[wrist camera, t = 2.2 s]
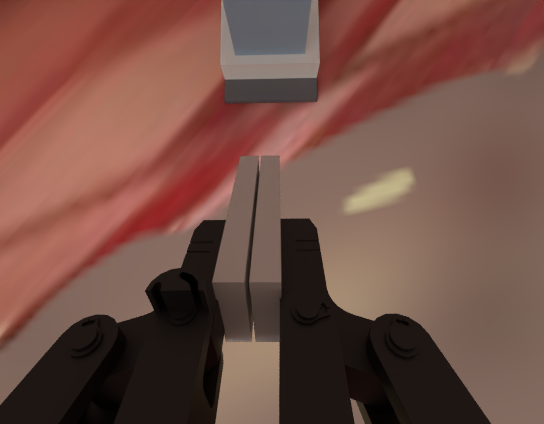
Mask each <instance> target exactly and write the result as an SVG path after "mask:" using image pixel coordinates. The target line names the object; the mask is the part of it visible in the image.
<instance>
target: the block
mask: <svg viewBox="0 0 544 424" xmlns="http://www.w3.org/2000/svg"><path fill="white" fill-rule="evenodd" d="M311 1H312V0H223V4H224V9H225V13H226V18H227V22H228V26H229V31H230V35H231V39H232V44H233V48H234V53H235V56H236V55H281V54H305V47H306V39H307V32H308V24H309V16H310V9H311Z"/></svg>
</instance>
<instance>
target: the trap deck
mask: <svg viewBox="0 0 544 424" xmlns="http://www.w3.org/2000/svg"><path fill="white" fill-rule="evenodd" d="M319 64H320V51H319V17H318V0H312V1H311V9H310V16H309V24H308V32H307V39H306V47H305V54H281V55H236V56H235V53H234V48H233V44H232V39H231V35H230V31H229V26H228V22H227V18H226V13H225V9H224V4H223V0H221V51H220V66H221V69H222V72H223V75H224V78H225V103H279V102H317V74H318V69H319Z"/></svg>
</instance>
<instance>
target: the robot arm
mask: <svg viewBox="0 0 544 424" xmlns="http://www.w3.org/2000/svg"><path fill="white" fill-rule="evenodd" d="M145 292H146V294H147V296H148V298H149V300H150V302H151V304H152V306H153V309H154V311H153V312H151V313H148V314H146V315H143V316H140V317H137V318H133V319H130V320H126V321H123V322H119V323H117V322H116V321H115V319H113V318H112V317H110V316H108V315H93V316H90V317H87V318H84V319H82V320H80V321H79V322H77V323H75V324H73V325H72V326H71V327H70V328H69V329H68V330H66V331H65V332H64V333H63V334H62V335H61V337H59V339H58V340H57V341H56V342H55V343H54V344H53V345H52V347H51V348H50V349H49V350H48V351H47V352H46V353H45V355H44V356H43V357H42V358H41V359H40V360H39V361H38V363H37V364H36V365H35V366H34V367H33V368H32V370H31V371H30V372H29V373H28V374H27V375H26V376H25V378H24V379H23V380H22V381H21V382H20V383H19V384H18V386H17V387H16V388H15V389H14V390H13V391H12V392H11V394H10V395H9V396H8V397H7V398H6V399H5V400H4V402H3V403H2V404H1V405H0V424H215V420H216V413H217V406H218V399H219V391H220V384H221V377H222V369H223V353H222V344H223V338H224V335H225V339H226V341H227V342H251V341H252V329H253V321H254V330H255V339H256V342H280V385H279V386H280V387H279V403H280V404H279V413H280V414H279V424H354V418H353V412H352V407H351V400H350V398H351V399H354V400H356V402H357V404H358V407H359V409H360V412H361V414H362V417H363V420H364V422H365V424H491V423H490V422H489V420H488V419H487V417H486V416H485V415H484V413H483V412H482V410H481V409H480V407H479V406H478V404H477V403H476V401H475V400H474V399H473V397H472V396H471V395H470V393H469V391H468V390H467V388H466V387H465V386H464V384H463V383H462V381H461V380H460V378H459V377H458V376H457V374H456V373H455V371H454V370H453V369H452V367H451V365H450V364H449V363H448V361H447V360H446V358H445V357H444V355H443V354H442V352H441V351H440V350H439V348H438V347H437V345H436V344H435V342H434V341H433V340H432V338H431V337H430V335H429V334H428V333H427V332H426V331H425V329H424V328H423V327H422V326H421V325H420V324H418V323H417V322H415V321H413V320H412V319H410V318H409V317H406V316H403V315H399V314H385V315H382V316H380V317H378V318H377V319H376V320H375V321H372V320H369V319H366V318H363V317H359V316H356V315H353V314H350V313H348V312H346V311H344V310H343V309H341V308H340V307H338V306H337V305H336V304H335V303H334V302H333V301H332V299H331V297H330V296H329V294H328V291H327V287H326V281H325V275H324V269H323V263H322V257H321V252H320V245H319V239H318V233H317V228H316V227H315V226H314V224H313V223H312V222H311V220H310V219H280V156H261V165H260V174H259V156H240V161H239V165H238V169H237V174H236V178H235V183H234V187H233V192H232V196H231V201H230V205H229V209H228V214H227V218H226V220H203V222H202V223H201V224H200V225H199V226H198V227H197V228H196V229H195V230H194V233H193V235H192V238H191V241H190V244H189V247H188V250H187V254H186V255H185V259H184V261H183V264H182V267H181V268H178V269H171V270H169V271H167V272H164V273H162V274H160V275H159V276H158V277H156V278H155V279H154V280H153V281H151V283H150V284H149V286H148V287H147V289H146V290H145Z"/></svg>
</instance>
